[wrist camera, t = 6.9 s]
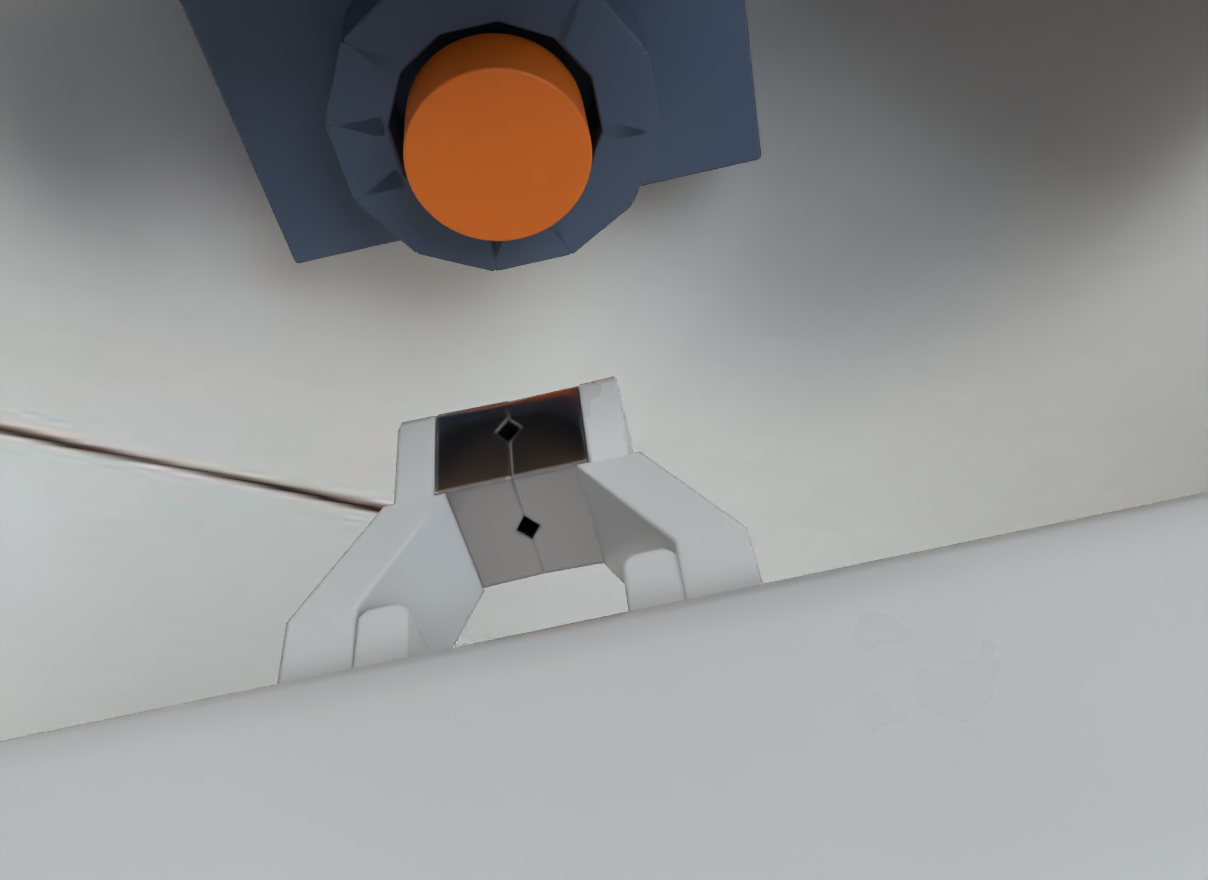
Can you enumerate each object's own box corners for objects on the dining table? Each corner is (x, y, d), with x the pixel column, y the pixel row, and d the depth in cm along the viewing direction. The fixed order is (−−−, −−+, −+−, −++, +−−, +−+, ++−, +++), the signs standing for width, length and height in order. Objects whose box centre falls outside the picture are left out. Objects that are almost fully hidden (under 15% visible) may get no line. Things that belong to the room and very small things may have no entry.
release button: (381, 55, 22) (377, 93, 20) (563, 12, 21) (571, 48, 20) (435, 216, 24) (434, 259, 23) (599, 178, 24) (607, 220, 22)
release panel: (141, -188, 22) (86, -126, 19) (688, -323, 22) (733, -285, 18) (310, 216, 28) (291, 318, 25) (740, 118, 28) (781, 209, 24)
